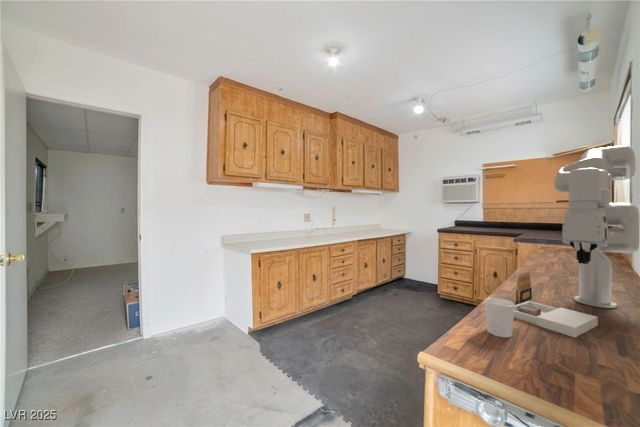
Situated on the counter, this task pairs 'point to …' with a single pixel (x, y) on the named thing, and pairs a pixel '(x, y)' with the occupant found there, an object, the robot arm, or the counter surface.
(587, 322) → the platform
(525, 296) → the ammunition clip
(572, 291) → the counter surface
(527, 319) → the box
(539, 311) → the walnut tile
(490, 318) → the white cup
